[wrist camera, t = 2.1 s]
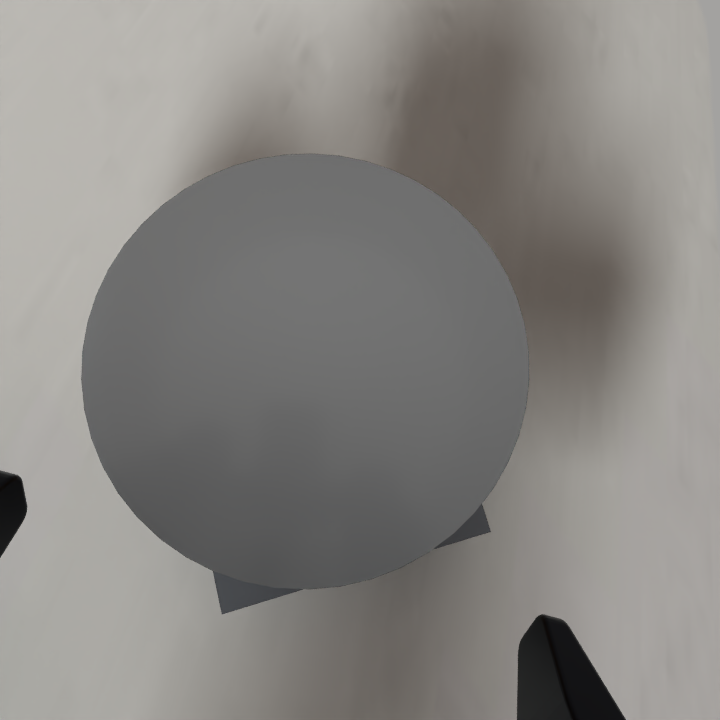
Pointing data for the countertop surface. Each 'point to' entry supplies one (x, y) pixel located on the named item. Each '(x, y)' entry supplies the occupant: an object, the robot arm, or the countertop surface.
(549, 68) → the countertop surface
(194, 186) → the disc
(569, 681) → the robot arm
